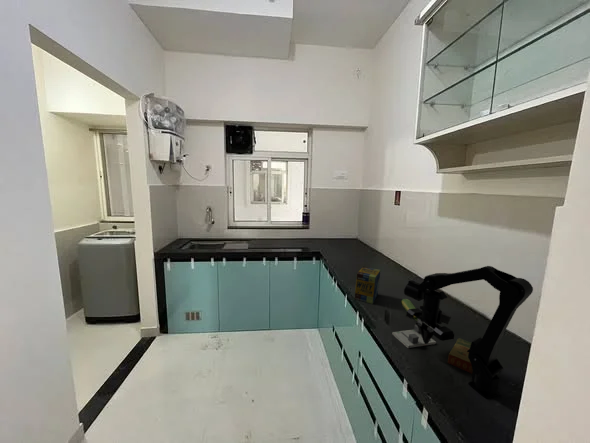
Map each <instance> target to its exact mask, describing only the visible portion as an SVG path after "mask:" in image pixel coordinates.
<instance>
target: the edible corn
mask: <svg viewBox="0 0 590 443" xmlns="http://www.w3.org/2000/svg"><path fill="white" fill-rule="evenodd" d="M400 304H401V306H402V307H403V309H404V310H405V311H406V312H407V311H408V310H409V309H415V308H416V307H415V305H414V304H413V303H412V301H411V300H410V299H407V298H403V299H402V300H400ZM412 319H414V320H415V321H416V322H418V320H417V317H415V316H413V318H412Z"/></svg>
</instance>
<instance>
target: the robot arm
mask: <svg viewBox="0 0 590 443" xmlns="http://www.w3.org/2000/svg"><path fill="white" fill-rule="evenodd" d="M477 281H485V282H487V283H488V284H489V285H490V286H491V287H492V288H494V289H495V290H497V291H498V292H499V296H498V300H499V303H498V306H497V307H496V309H495V311H494V314H493V316H492V318H491V320H490V321H489V324H488V326H487V327H486V330H485V332H484V333H483V336H482V337H481V336H480V337H478V338H476V339H475V340H473V341H471V346H470V349H469V350H468V351H467V352H469V354H468V358H469V360H470V362H471V365H472V369H473V371H472V374H471V378H470V381H468V382H467V385H469V386H470V387H471V388H472V389H473V390H474V391H476V392H477V393H479V395H481V396H482V397H483V398H485V399H489V398H493V397H497V396H498V397H499V396H501V392H499V390H498V389H499V385H500V380H501V379H500V377H499V376H498V374H500V373H501V372H502V371H503V370H504V367H503V365H502V364H501V362H500V361H499V359H498V358H497V357H498V353H499V343H500V342H501V339H502V338H503V336H504V334H505V332H506V330H507V328H508V327H509V324H510V323H511V320H512V318H513V316H514V315H515V313H516V311H517V309H519V307H520V306H521V305H523V303H524V302H526V300H527V299H528V298H529V297H530V296H531V295H532V293H533V292H534V287H533V285H532V283H530V281H529V280H527V279H525V278H523V277H516V276H514V275H512V274H510V273H507V272H505V271H501V270H499V269H497V268H495V267H493V266H491V265H486V266H482V267H479V268H474V269H468V270H463V271H458V272H452V273H450V272H436V273H432V274H429V275H425V276H424V277H423V281H422V282H420V283H419V282H417V281H415V280H413V279H410V280H408V283H407V284H406V286H405V287H404V289H403V293H404V296H406V297H409V298H411V299H413V300H415V301H418V302H420V301H422V302H423V303H422V305H420V307H419V308H418V307H417V308H416V307H415V309H409V310H408V311H406V317H408V318H409V319H414V318H413V316H415V317H417V319H416V320H417V322H415V325H417V326H418V329H419V331H420V333H421V336H422V339H423V341H424V343H425V344H428V342H429V341H430V339H431V338H432V339H433V336H434V337H435V338H436V339H438V340H439V341H443V342H444V341H449V340H454V338H455V331H453V330H452V329H450V328H448V327H447V326H441V325H442V324H446V325H449V323H450V321H451V318H452V317H451V316H450V315H448V314H447V313H445V312H443V310H441V308H440V306H441V301H442V300H446V299H448V296H447V294H445V291H437V290H440V289H442V288H446V287H448V286H451V285H458V284H465V283H472V282H477Z"/></svg>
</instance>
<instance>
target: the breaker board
mask: <svg viewBox="0 0 590 443" xmlns="http://www.w3.org/2000/svg"><path fill="white" fill-rule="evenodd" d="M409 334H416V335H417V336H418V337H419V339H418V342H419V343H415V344H413V343H411V342H410V341H409V340H408V339H409ZM392 336H393V337H395V339H397V340H398V341H399V342H400V343H402V344H403V345H404V346H405V347H406V348H407V349H410V348H411V349H412V348H417V347H423V346H424V347H425V346H430V345H431V346H432V345H436V344H437V341H435V339H433V337H432V338H431V339H430V341H429V342H428V344H425V343H424V341H423V339H422V336H421V333H417V332H416V331H415V330H413V329H408V330H406V329H405V330H400V331H399V330H398V331H392Z"/></svg>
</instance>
